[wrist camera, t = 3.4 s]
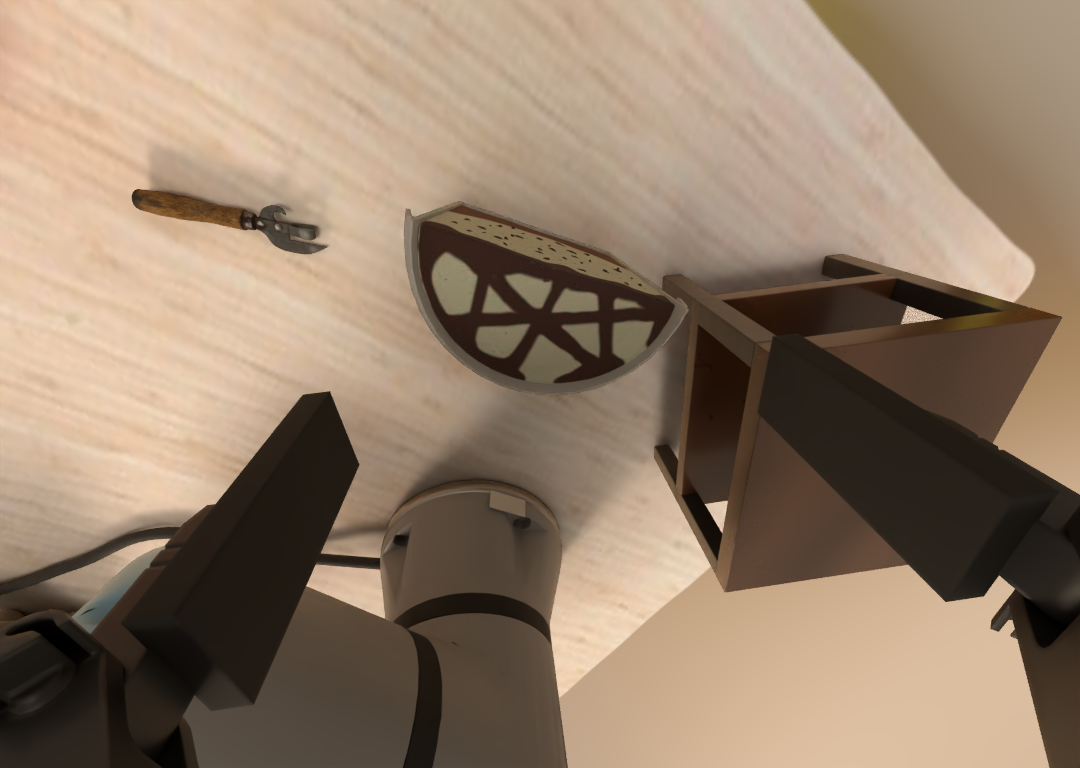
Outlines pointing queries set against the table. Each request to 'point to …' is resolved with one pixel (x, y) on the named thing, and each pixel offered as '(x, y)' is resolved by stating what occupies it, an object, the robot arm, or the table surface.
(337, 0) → the table surface
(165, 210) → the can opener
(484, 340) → the food container
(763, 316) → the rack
